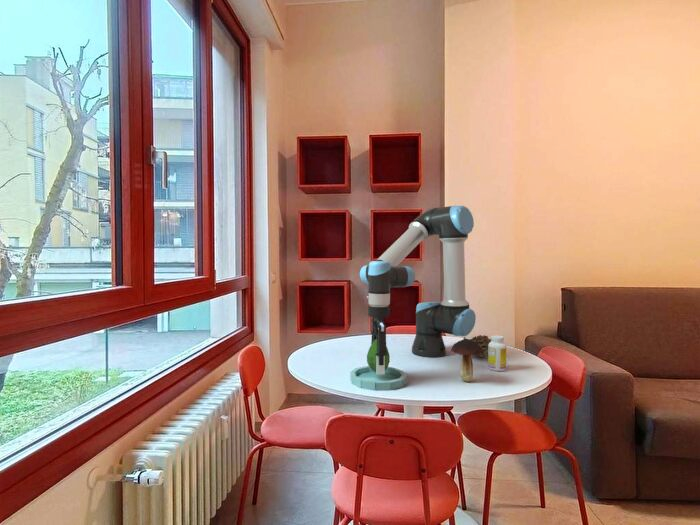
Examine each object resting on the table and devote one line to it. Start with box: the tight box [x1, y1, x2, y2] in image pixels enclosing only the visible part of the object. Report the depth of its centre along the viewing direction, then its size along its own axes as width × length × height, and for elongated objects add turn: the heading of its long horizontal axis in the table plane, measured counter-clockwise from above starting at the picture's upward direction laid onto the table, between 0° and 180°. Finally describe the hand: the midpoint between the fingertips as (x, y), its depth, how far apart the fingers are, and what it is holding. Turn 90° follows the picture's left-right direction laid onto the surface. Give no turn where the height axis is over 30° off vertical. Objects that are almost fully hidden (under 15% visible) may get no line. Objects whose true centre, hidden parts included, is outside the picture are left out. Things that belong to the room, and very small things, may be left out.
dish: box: [349, 365, 407, 391], centre depth 135 cm, size 19×19×2 cm
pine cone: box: [463, 334, 492, 358], centre depth 171 cm, size 22×10×10 cm, turn 19°
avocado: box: [366, 339, 391, 372], centre depth 135 cm, size 8×8×12 cm
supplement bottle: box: [487, 335, 508, 372], centre depth 150 cm, size 7×7×13 cm
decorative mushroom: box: [450, 338, 483, 383], centre depth 135 cm, size 11×11×15 cm
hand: (378, 370), depth 135 cm, fingers closed on avocado, 8 cm apart
